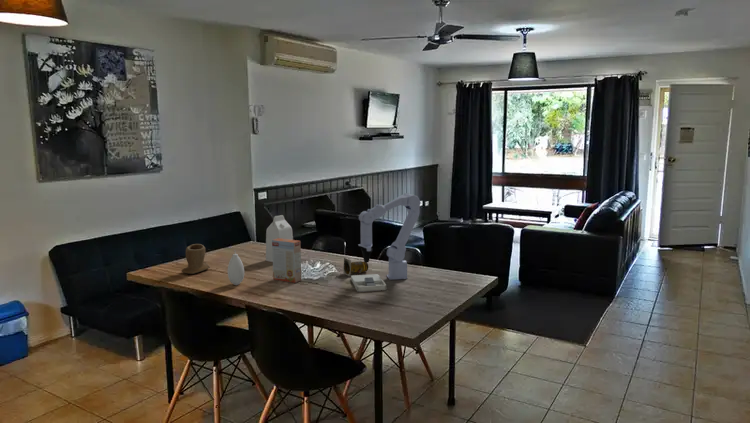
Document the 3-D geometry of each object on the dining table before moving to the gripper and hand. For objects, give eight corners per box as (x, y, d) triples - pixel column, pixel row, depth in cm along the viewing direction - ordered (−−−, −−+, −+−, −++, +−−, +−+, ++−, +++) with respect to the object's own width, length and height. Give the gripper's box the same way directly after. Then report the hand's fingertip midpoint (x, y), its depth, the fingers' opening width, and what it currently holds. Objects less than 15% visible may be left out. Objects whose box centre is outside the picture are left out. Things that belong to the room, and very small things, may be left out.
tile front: (374, 286, 263) (374, 282, 262) (375, 288, 259) (375, 284, 258) (366, 286, 262) (366, 282, 261) (367, 289, 258) (367, 285, 258)
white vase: (239, 281, 273) (237, 246, 270) (247, 284, 267) (246, 249, 264) (225, 284, 267) (223, 249, 264) (233, 287, 262) (231, 251, 259)
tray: (382, 284, 267) (382, 279, 267) (386, 290, 258) (386, 285, 257) (354, 285, 265) (354, 281, 264) (357, 291, 255) (357, 287, 255)
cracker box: (302, 280, 274) (301, 240, 270) (294, 283, 269) (293, 242, 265) (280, 276, 281) (279, 237, 277) (272, 279, 275) (271, 239, 272)
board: (378, 277, 278) (378, 274, 278) (382, 284, 268) (382, 280, 267) (351, 279, 276) (351, 275, 275) (354, 285, 265) (354, 281, 265)
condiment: (350, 276, 281) (369, 273, 288) (350, 260, 280) (370, 258, 286) (343, 273, 287) (362, 270, 293) (343, 257, 286) (362, 255, 292)
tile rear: (372, 280, 266) (372, 277, 266) (373, 285, 263) (374, 281, 262) (364, 281, 266) (364, 277, 265) (365, 285, 262) (365, 282, 261)
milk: (280, 256, 323) (279, 213, 319) (294, 259, 316) (293, 215, 312) (265, 260, 313) (264, 216, 309) (279, 263, 307) (278, 218, 302)
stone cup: (194, 276, 281) (192, 248, 278) (178, 273, 287) (176, 246, 284) (216, 269, 294) (214, 242, 291) (200, 267, 300) (199, 240, 297)
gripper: (356, 232, 275) (356, 258, 278) (360, 238, 261) (361, 266, 264) (369, 232, 277) (369, 258, 279) (375, 238, 263) (375, 265, 265)
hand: (366, 262), depth 271 cm, fingers closed
